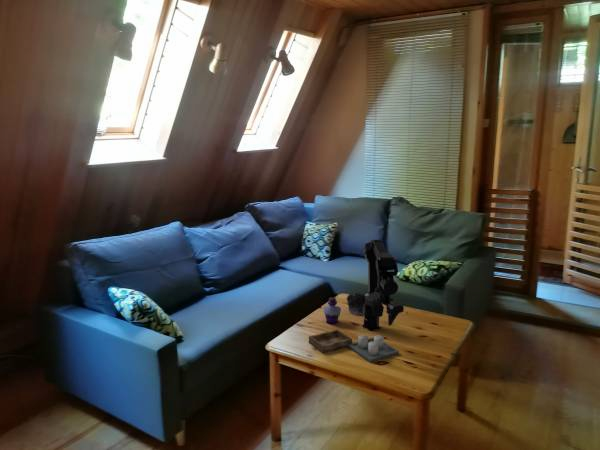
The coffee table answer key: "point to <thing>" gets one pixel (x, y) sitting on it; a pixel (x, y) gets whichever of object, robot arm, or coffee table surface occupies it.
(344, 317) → the coffee table surface
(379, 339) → the stone
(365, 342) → the stone
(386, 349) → the slate tray
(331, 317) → the potion bottle
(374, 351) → the stone
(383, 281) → the robot arm
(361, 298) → the crystal cluster
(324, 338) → the walnut box
